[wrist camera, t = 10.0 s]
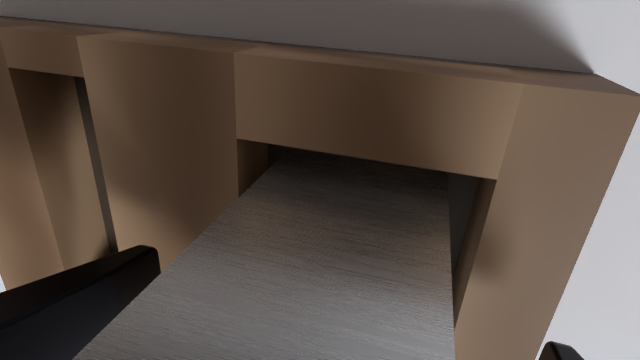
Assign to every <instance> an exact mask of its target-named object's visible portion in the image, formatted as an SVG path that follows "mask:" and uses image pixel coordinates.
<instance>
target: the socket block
mask: <svg viewBox="0 0 640 360" xmlns="http://www.w3.org/2000/svg"><path fill="white" fill-rule="evenodd" d="M639 112H640V94H638V93H636V92H634V91H632V90H630V89H628V88H625V87H623V86H621V85H619V84H617V83H614V82H612V81H610V80H608V79H606V78H604V77H601V76H599V75H597V74H590V73H579V72H569V71H559V70H548V69H538V68H528V67H518V66H507V65H497V64H487V63H477V62H466V61H456V60H446V59H436V58H425V57H415V56H405V55H395V54H384V53H374V52H364V51H354V50H343V49H333V48H323V47H313V46H302V45H292V44H282V43H272V42H261V41H251V40H241V39H231V38H220V37H210V36H200V35H190V34H179V33H169V32H159V31H149V30H138V29H128V28H118V27H108V26H97V25H87V24H77V23H67V22H56V21H46V20H36V19H26V18H15V17H5V16H0V274H1V277H2V280H3V282H4V285H5V288H6V291H7V290H10V289H13V288H16V287H19V286H22V285H24V284H27V283H30V282H33V281H36V280H39V279H42V278H45V277H48V276H50V275H53V274H56V273H59V272H62V271H65V270H68V269H71V268H74V267H76V266H79V265H82V264H85V263H88V262H91V261H94V260H97V259H100V258H102V257H105V256H108V255H111V254H114V253H117V252H120V251H123V250H126V249H128V248H131V247H134V246H137V245H147V246H151V247H154V248H156V249H157V251H158V255H159V262H160V268H161V273H162V272H163V271H164V270H165V269H166V268H167V267H168V266H169V265H170V264H171V263H172V262H173V261H174V260H175V259H176V258H177V257H178V256H179V255H180V254H181V253H182V252H183V251H184V250H185V249H186V248H187V247H188V246H190V245H191V244H192V243H193V242H194V241H195V240H196V239H197V238H198V237H199V236H200V235H201V234H202V233H203V232H204V231H205V230H206V229H207V228H208V227H209V226H210V225H211V224H212V223H213V222H214V221H215V220H216V219H217V218H218V217H219V216H220V215H221V214H222V213H224V212H225V211H226V210H227V209H228V208H229V207H230V206H231V205H232V204H233V203H234V202H235V201H236V200H237V199H238V198H239V197H240V196H241V195H242V194H243V193H244V192H245V191H246V190H247V189H248V188H249V187H250V186H251V185H252V184H253V183H254V182H255V181H257V180H258V179H259V178H260V177H261V176H262V175H263V174H264V173H265V172H266V171H267V170H268V169H269V168H270V167H271V166H272V165H273V164H274V163H275V162H276V161H277V160H278V159H279V158H280V157H281V156H282V155H283V154H284V153H285V152H286V151H287V150H288V149H296V150H302V151H309V152H315V153H322V154H328V155H334V156H341V157H347V158H353V159H360V160H366V161H373V162H379V163H385V164H392V165H398V166H405V167H411V168H417V169H424V170H430V171H437V172H443V173H447V180H448V204H449V228H450V252H451V276H452V300H453V323H454V347H455V360H535V358H536V356H537V353H538V351H539V349H540V346H541V344H542V341H543V339H544V337H545V334H546V332H547V330H548V327H549V325H550V323H551V320H552V318H553V316H554V313H555V311H556V308H557V306H558V304H559V301H560V299H561V297H562V294H563V292H564V290H565V287H566V285H567V282H568V280H569V278H570V275H571V273H572V271H573V268H574V266H575V264H576V261H577V259H578V256H579V254H580V252H581V249H582V247H583V245H584V242H585V240H586V238H587V235H588V233H589V231H590V228H591V226H592V223H593V221H594V219H595V216H596V214H597V212H598V209H599V207H600V205H601V202H602V200H603V197H604V195H605V193H606V190H607V188H608V186H609V183H610V181H611V179H612V176H613V174H614V171H615V169H616V167H617V164H618V162H619V160H620V157H621V155H622V153H623V150H624V148H625V145H626V143H627V141H628V138H629V136H630V134H631V131H632V129H633V127H634V124H635V122H636V120H637V117H638V115H639Z"/></svg>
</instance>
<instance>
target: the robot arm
mask: <svg viewBox="0 0 640 360" xmlns="http://www.w3.org/2000/svg"><path fill="white" fill-rule="evenodd" d="M160 274H161V268H160V262H159V255H158V251H157V249H156V248H154V247H151V246H147V245H137V246H134V247H131V248H128V249H126V250H123V251H120V252H117V253H114V254H111V255H108V256H105V257H102V258H100V259H97V260H94V261H91V262H88V263H85V264H82V265H79V266H76V267H74V268H71V269H68V270H65V271H62V272H59V273H56V274H53V275H50V276H48V277H45V278H42V279H39V280H36V281H33V282H30V283H27V284H24V285H22V286H19V287H16V288H13V289H10V290H7V291H4V292H1V293H0V360H72V359H73V358H74V357H75V356H76V355H77V354H78V353H79V352H80V351H81V350H82V349H83V348H84V347H85V346H86V345H87V344H88V343H90V342H91V341H92V340H93V339H94V338H95V337H96V336H97V335H98V334H99V333H100V332H101V331H102V330H103V329H104V328H105V327H106V326H107V325H108V324H109V323H110V322H111V321H112V320H113V319H114V318H115V317H116V316H117V315H118V314H119V313H120V312H121V311H122V310H124V309H125V308H126V307H127V306H128V305H129V304H130V303H131V302H132V301H133V300H134V299H135V298H136V297H137V296H138V295H139V294H140V293H141V292H142V291H143V290H144V289H145V288H146V287H147V286H148V285H149V284H150V283H151V282H152V281H153V280H154V279H155V278H157V277H158V276H159V275H160ZM539 360H584V359H583V358H582V357H581V356H580V355H579V354H578V353H577V352H576V350H575V349H573V348H572V347H571V346H568V345H565V344H561V343H557V342H552V341H550V342H547V343H546V344H545V346H544V348H543V351H542V353H541V355H540V358H539Z"/></svg>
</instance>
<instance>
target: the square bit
mask: <svg viewBox="0 0 640 360" xmlns="http://www.w3.org/2000/svg"><path fill="white" fill-rule="evenodd" d="M72 360H455V347H454V323H453V300H452V276H451V252H450V228H449V204H448V180H447V173H443V172H437V171H430V170H424V169H417V168H411V167H405V166H398V165H392V164H385V163H379V162H373V161H366V160H360V159H353V158H347V157H341V156H334V155H328V154H322V153H315V152H309V151H302V150H296V149H288V150H287V151H286V152H285V153H284V154H283V155H282V156H281V157H280V158H279V159H278V160H277V161H276V162H275V163H274V164H273V165H272V166H271V167H270V168H269V169H268V170H267V171H266V172H265V173H264V174H263V175H262V176H261V177H260V178H259V179H258V180H257V181H255V182H254V183H253V184H252V185H251V186H250V187H249V188H248V189H247V190H246V191H245V192H244V193H243V194H242V195H241V196H240V197H239V198H238V199H237V200H236V201H235V202H234V203H233V204H232V205H231V206H230V207H229V208H228V209H227V210H226V211H225V212H224V213H222V214H221V215H220V216H219V217H218V218H217V219H216V220H215V221H214V222H213V223H212V224H211V225H210V226H209V227H208V228H207V229H206V230H205V231H204V232H203V233H202V234H201V235H200V236H199V237H198V238H197V239H196V240H195V241H194V242H193V243H192V244H191V245H190V246H188V247H187V248H186V249H185V250H184V251H183V252H182V253H181V254H180V255H179V256H178V257H177V258H176V259H175V260H174V261H173V262H172V263H171V264H170V265H169V266H168V267H167V268H166V269H165V270H164V271H163V272H162V273H161V274H160V275H159V276H158V277H157V278H155V279H154V280H153V281H152V282H151V283H150V284H149V285H148V286H147V287H146V288H145V289H144V290H143V291H142V292H141V293H140V294H139V295H138V296H137V297H136V298H135V299H134V300H133V301H132V302H131V303H130V304H129V305H128V306H127V307H126V308H125V309H124V310H122V311H121V312H120V313H119V314H118V315H117V316H116V317H115V318H114V319H113V320H112V321H111V322H110V323H109V324H108V325H107V326H106V327H105V328H104V329H103V330H102V331H101V332H100V333H99V334H98V335H97V336H96V337H95V338H94V339H93V340H92V341H91V342H90V343H88V344H87V345H86V346H85V347H84V348H83V349H82V350H81V351H80V352H79V353H78V354H77V355H76V356H75V357H74V358H73V359H72Z"/></svg>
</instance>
